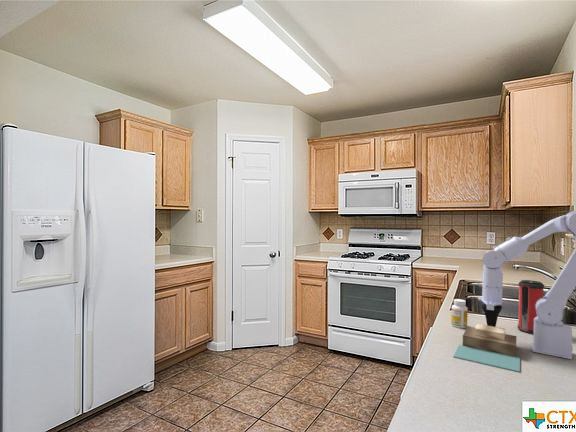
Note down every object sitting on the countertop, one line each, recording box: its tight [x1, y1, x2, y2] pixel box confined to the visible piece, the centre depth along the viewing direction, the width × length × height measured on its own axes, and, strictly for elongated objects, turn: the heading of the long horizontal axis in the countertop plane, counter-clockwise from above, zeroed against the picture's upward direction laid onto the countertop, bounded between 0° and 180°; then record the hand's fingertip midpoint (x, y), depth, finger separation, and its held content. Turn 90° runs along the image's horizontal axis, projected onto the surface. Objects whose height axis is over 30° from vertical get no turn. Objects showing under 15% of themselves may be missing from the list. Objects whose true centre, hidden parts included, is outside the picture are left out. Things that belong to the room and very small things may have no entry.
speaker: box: [517, 279, 546, 335], centre depth 125 cm, size 8×8×18 cm
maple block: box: [474, 323, 506, 340], centre depth 109 cm, size 8×6×2 cm
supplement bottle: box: [450, 298, 468, 329], centre depth 129 cm, size 5×5×10 cm
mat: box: [453, 344, 521, 373], centre depth 100 cm, size 16×11×1 cm
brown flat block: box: [462, 326, 518, 357], centre depth 109 cm, size 14×10×4 cm
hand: (491, 327), depth 114 cm, fingers closed
